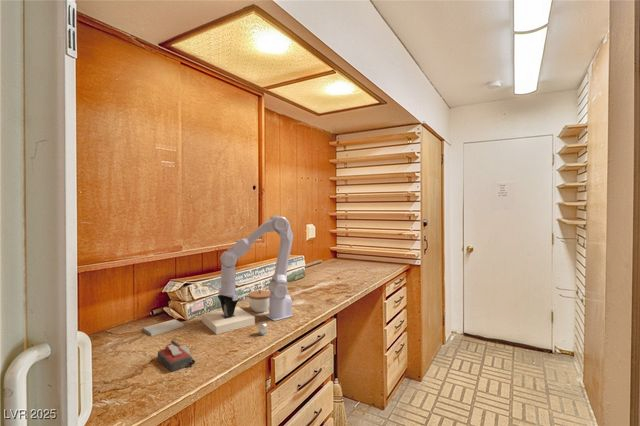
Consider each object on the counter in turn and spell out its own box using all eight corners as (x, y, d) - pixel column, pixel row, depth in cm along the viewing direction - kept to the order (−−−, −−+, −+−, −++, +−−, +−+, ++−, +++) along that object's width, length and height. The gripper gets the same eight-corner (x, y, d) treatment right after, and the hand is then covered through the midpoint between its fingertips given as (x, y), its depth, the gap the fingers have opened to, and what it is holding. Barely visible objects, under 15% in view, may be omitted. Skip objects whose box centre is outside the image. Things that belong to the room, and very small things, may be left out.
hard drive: (151, 333, 118) (183, 323, 127) (142, 327, 123) (174, 318, 133) (151, 337, 118) (183, 327, 127) (142, 331, 123) (174, 322, 133)
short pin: (264, 331, 124) (264, 321, 123) (268, 334, 121) (268, 323, 121) (256, 333, 121) (256, 323, 121) (260, 336, 119) (260, 325, 119)
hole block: (237, 313, 143) (237, 306, 143) (254, 324, 130) (254, 317, 130) (201, 321, 133) (201, 314, 132) (216, 334, 120) (216, 326, 120)
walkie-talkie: (201, 364, 99) (175, 344, 113) (201, 350, 99) (175, 331, 112) (172, 375, 92) (148, 352, 106) (172, 360, 92) (148, 339, 106)
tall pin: (229, 321, 134) (230, 302, 133) (233, 323, 131) (233, 304, 131) (222, 322, 132) (222, 303, 131) (225, 325, 129) (225, 305, 129)
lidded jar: (243, 312, 144) (243, 292, 144) (255, 305, 154) (255, 286, 154) (265, 315, 141) (265, 294, 140) (275, 307, 151) (275, 288, 151)
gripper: (212, 278, 134) (211, 310, 134) (226, 286, 123) (225, 321, 123) (228, 276, 138) (228, 307, 139) (243, 283, 127) (242, 317, 128)
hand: (228, 313), depth 131 cm, fingers open, 4 cm apart
